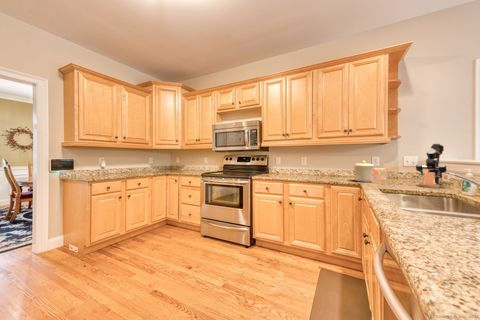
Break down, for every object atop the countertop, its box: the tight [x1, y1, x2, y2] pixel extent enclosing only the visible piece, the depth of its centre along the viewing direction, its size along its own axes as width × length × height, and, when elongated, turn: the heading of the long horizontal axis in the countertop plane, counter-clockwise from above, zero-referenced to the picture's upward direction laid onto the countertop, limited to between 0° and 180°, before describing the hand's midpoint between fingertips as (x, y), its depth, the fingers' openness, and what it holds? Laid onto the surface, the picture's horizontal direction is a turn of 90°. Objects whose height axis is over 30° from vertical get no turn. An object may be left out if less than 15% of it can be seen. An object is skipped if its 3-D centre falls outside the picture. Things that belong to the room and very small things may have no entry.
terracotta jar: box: [422, 171, 436, 185], centre depth 171 cm, size 7×7×10 cm
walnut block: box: [417, 182, 442, 190], centre depth 172 cm, size 12×12×3 cm
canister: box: [353, 160, 375, 183], centre depth 208 cm, size 18×18×21 cm
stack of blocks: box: [371, 167, 388, 181], centre depth 223 cm, size 21×6×12 cm, turn 77°
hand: (429, 175), depth 171 cm, fingers open, 9 cm apart
